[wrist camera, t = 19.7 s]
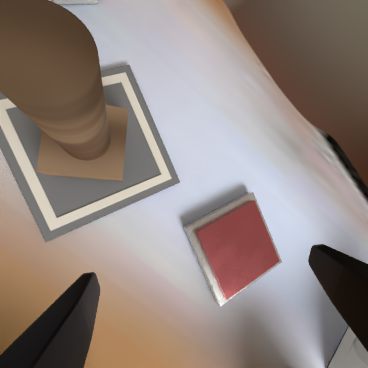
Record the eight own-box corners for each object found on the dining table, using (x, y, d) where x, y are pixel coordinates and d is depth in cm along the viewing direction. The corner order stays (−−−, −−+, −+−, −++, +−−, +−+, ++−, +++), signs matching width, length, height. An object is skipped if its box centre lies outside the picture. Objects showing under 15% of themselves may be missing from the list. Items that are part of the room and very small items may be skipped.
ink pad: (216, 301, 21) (223, 310, 20) (183, 227, 21) (188, 229, 19) (275, 259, 24) (286, 263, 23) (247, 192, 24) (257, 192, 22)
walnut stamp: (122, 182, 19) (126, 150, 7) (49, 176, 17) (-110, 120, 5) (127, 121, 19) (139, 0, 8) (57, 110, 18) (-68, -75, 6)
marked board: (47, 241, 17) (45, 242, 16) (-20, 100, 16) (-25, 96, 16) (178, 182, 21) (180, 182, 21) (128, 68, 20) (129, 64, 20)
